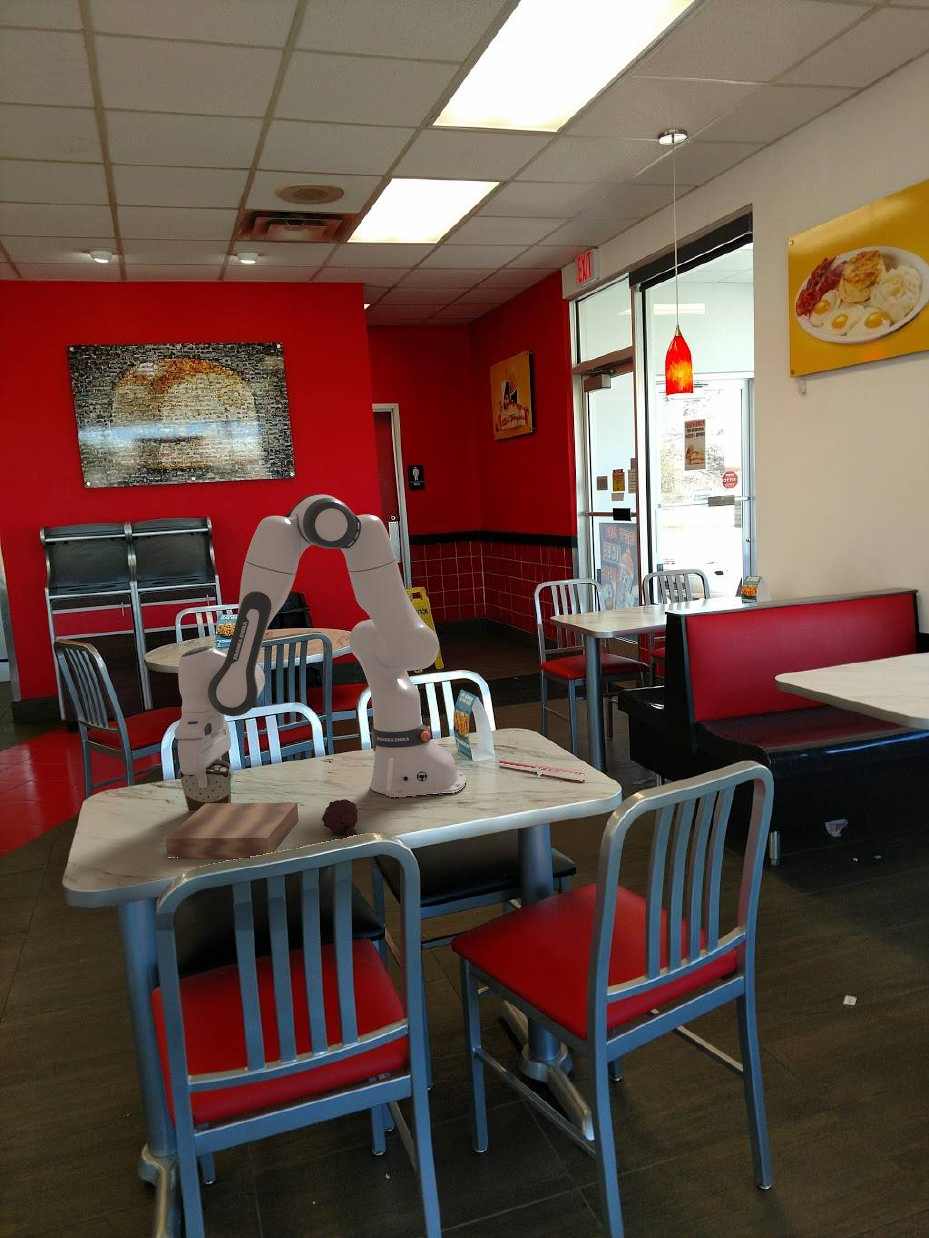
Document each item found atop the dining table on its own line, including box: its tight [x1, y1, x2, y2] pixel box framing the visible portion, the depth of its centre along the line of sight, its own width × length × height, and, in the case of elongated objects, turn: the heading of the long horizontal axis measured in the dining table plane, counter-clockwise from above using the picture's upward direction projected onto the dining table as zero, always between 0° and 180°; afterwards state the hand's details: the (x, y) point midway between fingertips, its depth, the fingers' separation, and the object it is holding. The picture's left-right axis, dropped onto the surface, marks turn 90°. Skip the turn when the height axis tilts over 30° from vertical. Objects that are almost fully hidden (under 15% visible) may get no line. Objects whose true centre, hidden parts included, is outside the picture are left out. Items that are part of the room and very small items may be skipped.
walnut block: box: [165, 802, 299, 859], centre depth 181 cm, size 20×20×4 cm
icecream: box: [321, 798, 359, 837], centre depth 182 cm, size 7×7×15 cm
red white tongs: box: [498, 759, 585, 775], centre depth 215 cm, size 24×2×5 cm
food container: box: [177, 759, 235, 813], centre depth 200 cm, size 12×6×10 cm, turn 84°
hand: (210, 781), depth 199 cm, fingers closed on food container, 5 cm apart
